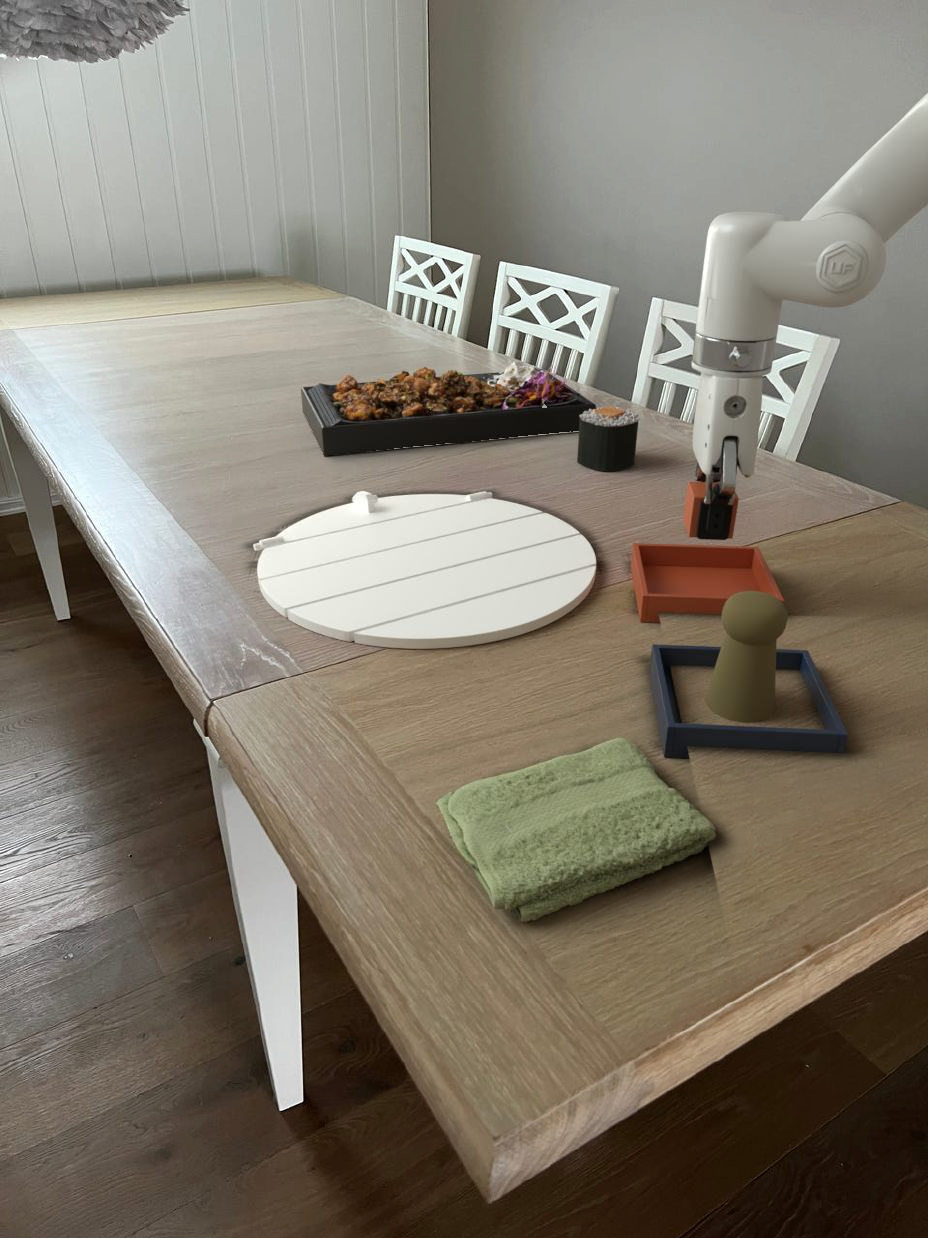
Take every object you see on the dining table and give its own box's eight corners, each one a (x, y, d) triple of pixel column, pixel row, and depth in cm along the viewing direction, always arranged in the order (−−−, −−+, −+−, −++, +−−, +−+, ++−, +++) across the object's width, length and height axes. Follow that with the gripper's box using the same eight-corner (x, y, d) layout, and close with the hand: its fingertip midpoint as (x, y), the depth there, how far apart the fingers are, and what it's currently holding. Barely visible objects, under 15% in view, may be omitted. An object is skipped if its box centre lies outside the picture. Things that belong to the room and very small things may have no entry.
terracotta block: (725, 522, 99) (731, 482, 97) (732, 539, 95) (739, 498, 93) (683, 520, 100) (688, 481, 98) (688, 537, 96) (693, 496, 94)
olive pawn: (764, 737, 77) (786, 622, 72) (694, 717, 80) (710, 604, 75) (781, 702, 82) (803, 591, 77) (714, 683, 85) (730, 576, 79)
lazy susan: (211, 538, 115) (208, 512, 114) (479, 481, 133) (479, 458, 131) (342, 689, 85) (340, 657, 83) (667, 590, 102) (670, 561, 101)
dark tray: (802, 678, 86) (808, 649, 85) (840, 765, 75) (848, 734, 73) (648, 672, 88) (651, 644, 86) (663, 757, 76) (667, 726, 75)
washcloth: (427, 814, 70) (425, 780, 68) (626, 756, 76) (629, 724, 75) (501, 939, 59) (502, 902, 58) (726, 860, 66) (732, 825, 64)
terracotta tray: (754, 571, 107) (758, 546, 105) (779, 627, 95) (784, 600, 94) (630, 567, 108) (632, 542, 106) (640, 622, 96) (642, 595, 95)
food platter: (542, 392, 174) (544, 336, 169) (594, 430, 153) (598, 368, 148) (302, 412, 163) (297, 352, 158) (324, 456, 142) (318, 389, 137)
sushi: (567, 461, 140) (570, 409, 136) (604, 450, 144) (608, 399, 141) (607, 475, 134) (612, 422, 130) (644, 463, 139) (649, 411, 135)
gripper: (793, 376, 81) (760, 564, 90) (755, 334, 96) (730, 499, 105) (706, 374, 82) (681, 561, 90) (682, 333, 96) (663, 497, 105)
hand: (708, 526), depth 97 cm, fingers closed on terracotta block, 4 cm apart
